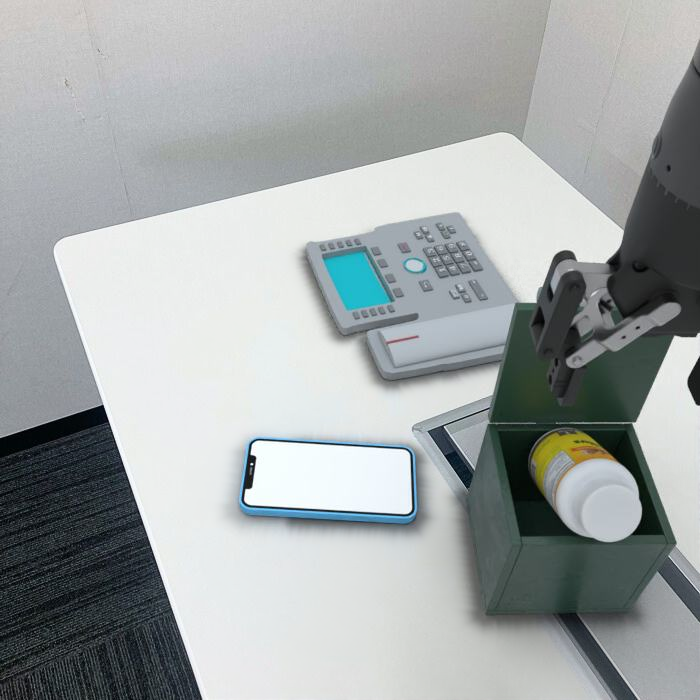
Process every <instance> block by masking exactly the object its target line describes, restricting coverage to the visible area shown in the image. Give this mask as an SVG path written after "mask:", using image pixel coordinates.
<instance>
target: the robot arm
mask: <svg viewBox="0 0 700 700" xmlns="http://www.w3.org/2000/svg"><path fill="white" fill-rule="evenodd" d="M541 287H542V289H541V292H540V295H539V298H538V300H537V302H535V303H536V306H535V308H534V311H533V314H532V317H531V319H530V322H529V327H530V330H531V334H532V338H533V341H534V345H535V348H536V352H537V355H538V358H539V359H541V360H551V359H552V360H551V363H550V366H549V369H548V372H547V379H548V382H549V386H550V389H551V393H552V396H553V398H557V400H558V403H559V405H560V406H572V405H573V404H574V401H575V398H576V396H577V393H578V391H579V388H580V385H581V383H582V380H583V378H584V375H585V372H586V370H587V366H586V364H587V363H588V362H590V361H591V360H593V359H594V358H596V357H597V356H599V355H600V354H602V353H603V352H604V351H606V350H610V351H612V352H616V351H618V350H620V349H621V348H623V347H624V346H626V345H627V344H629V343H630V342H632V341H633V340H635V339H636V338H638V337H639V336H641V337H659V336H665V335H674V337H679V338H697V337H698V334H700V38H699V39H698V42H697V45H696V47H695V50H694V52H693V55H692V57H691V60H690V62H689V65H688V66H687V69H686V71H685V73H684V75H683V77H682V79H681V80H680V82H679V84H678V85H677V88H676V89H675V92H674V94H673V96H672V98H671V99H670V102H669V104H668V106H667V109H666V112H665V114H664V117H663V120H662V122H661V124H660V128H659V130H658V132H657V133H656V135H655V137H654V138H653V142H652V145H651V152H650V155H649V158H648V161H647V164H646V166H645V169H644V171H643V175H642V177H641V179H640V183H639V185H638V188H637V191H636V193H635V196H634V199H633V202H632V205H631V207H630V209H629V213H628V215H627V218H626V222H625V225H624V229H623V235H622V239H621V243H620V246H619V247H618V249H617V250H616V251H615V252H614V253H613V255H612V256H610V257H609V258H608V259H607V260H606V262H590V261H589V262H586V261H578V259H577V256H576V254H575V253H574V251H572V250H570V249H563V250H560V251H558V252H557V253H555V254H554V255H553V256H552V260H551V263H550V265H549V268H548V270H547V272H546V276H545V279H544V282H543V284H542V286H541ZM601 288H603V289H601ZM598 289H601V290H600V291H598V292H597V293H596V294H594V295H593V296H592V297H590V296H591V295H592V293H593V292H594V291H596V290H598ZM589 297H590V298H589ZM587 299H588V300H587ZM579 306H580V307H584V309H583V310H582V311H581V312H580V313H579V314H577V315H576V316H575V314H576V312H577V310H578V307H579ZM615 306H616V307H617V309H618V311H619V312H620V314H621V316H622V317H623V319H624V320H623V321H621V322H620V323H618V324H617V325H614V323H613V320H612V317H611V311H612V309H613V308H614V307H615ZM592 329H593V333H592V334H591V335H590V336H589V337H588V338H586V339H585V340H583V341H582V339H581V337H582V336H583V335H585V334H586V333H588V332H589V331H590V330H592ZM686 384H687V389H688V391H689V393H690V395H691V398H692V399H693V401H694V404H695V405H696V406H697V407H700V355H699V356H698V358H697V360H696V361H695V364H694V365H693V367H692V369H691V371H690V373H689V375H688V377H687V380H686Z"/></svg>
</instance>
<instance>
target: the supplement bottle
mask: <svg viewBox="0 0 700 700" xmlns="http://www.w3.org/2000/svg"><path fill="white" fill-rule="evenodd" d="M528 467H529V473H530V476H531V478H532V480H533V482H534V483H535V485H536V486H537V488H538V489H539V490H540V492H541V493H542V495H543V496H544V497H545V498H546V500H547V501H548V502H549V504H550V505H551V506H552V508H553V509H554V510H555V512H556V513H557V514H558V516H559V517H560V518H561V520H562V521H563V522H564V523H565V525H566V526H567V527H568V528H570V529H571V530H572V531H574V532H575V533H577V534H579V535H582V536H585V537H591V538H595V539H597V540H599V541H603V542H615V541H619V540H622V539H624V538H626V537H628V536H629V535H630V534H631V533H633V531H634V530H635V529H636V528H637V526H638V524H639V522H640V520H641V515H642V507H641V503H640V500H639V491H638V486H637V484H636V481H635V479H634V478H633V476H632V475H631V473H630V472H629V471H628V470H627V469H626V468H625V467H624V466H623V465H622V464H620V463H619V462H618V461H617V460H616V459H615V458H614V457H612V456H611V455H610V454H609V453H608V452H607V451H606V450H605V449H603V448H602V447H601V446H600V445H599V444H598V443H597V442H595V441H594V440H593V439H592V438H591V437H590V436H588V435H587V434H586V433H584V432H582V431H580V430H577V429H573V428H559V429H555V430H552V431H550V432H548V433H546V434H545V435H543V436H542V437H541V438H540V439H539V440H538V441H537V442H536V443H535V444H534V446H533V448H532V450H531V452H530V455H529V461H528Z"/></svg>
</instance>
